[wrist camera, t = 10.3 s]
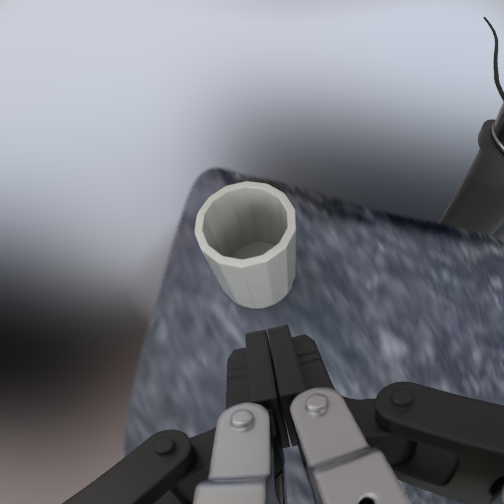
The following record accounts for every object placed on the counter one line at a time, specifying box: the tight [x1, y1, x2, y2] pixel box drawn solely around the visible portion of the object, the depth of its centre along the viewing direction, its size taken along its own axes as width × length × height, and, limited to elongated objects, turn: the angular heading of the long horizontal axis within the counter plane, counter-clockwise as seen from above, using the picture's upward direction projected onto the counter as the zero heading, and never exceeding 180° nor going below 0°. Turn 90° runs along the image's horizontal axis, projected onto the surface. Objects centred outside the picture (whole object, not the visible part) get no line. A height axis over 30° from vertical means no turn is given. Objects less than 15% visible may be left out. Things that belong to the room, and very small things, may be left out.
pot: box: [195, 181, 296, 309], centre depth 21 cm, size 6×6×8 cm
